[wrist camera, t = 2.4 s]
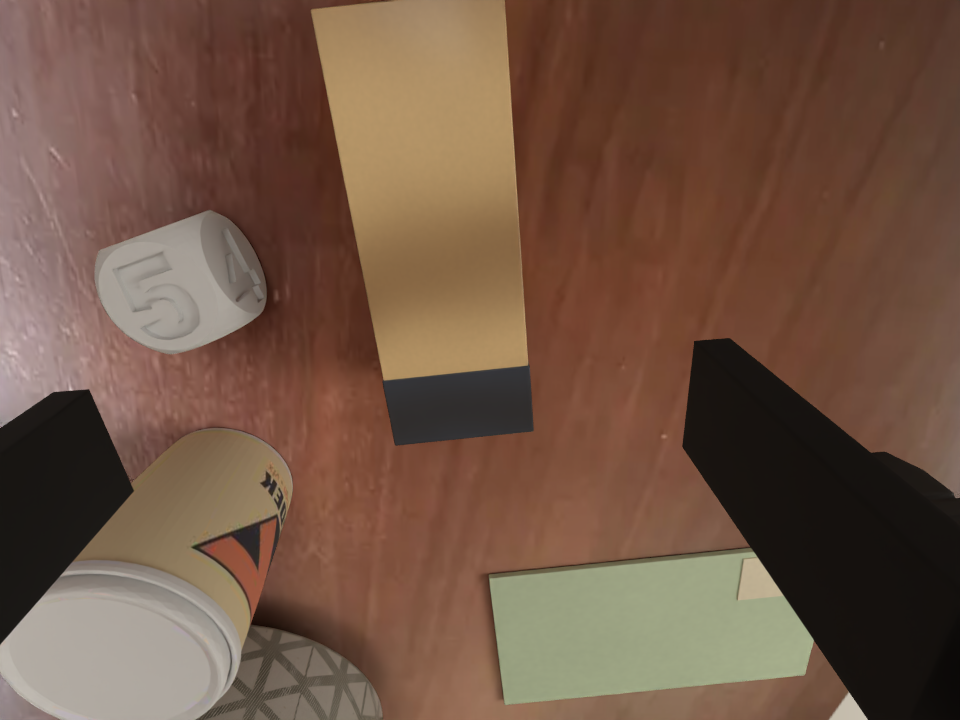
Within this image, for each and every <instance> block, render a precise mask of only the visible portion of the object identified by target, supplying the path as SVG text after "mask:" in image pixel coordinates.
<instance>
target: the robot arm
mask: <svg viewBox="0 0 960 720" xmlns="http://www.w3.org/2000/svg"><path fill="white" fill-rule="evenodd" d="M682 447H683V449H684V450H685V451H686V453H687V454H688V456H689V457H690V459H691V460H692V462H693V463H694V465H695V466H696V468H697V469H698V471H699V472H700V473H701V475H702V476H703V478H704V479H705V481H706V482H707V484H708V485H709V487H710V488H711V490H712V491H713V493H714V494H715V496H716V497H717V498H718V500H719V501H720V503H721V504H722V506H723V507H724V509H725V510H726V512H727V513H728V515H729V516H730V518H731V519H732V521H733V522H734V523H735V525H736V526H737V528H738V529H739V531H740V532H741V534H742V535H743V537H744V538H745V540H746V541H747V543H748V544H749V545H750V547H751V548H752V550H753V551H754V553H755V554H756V556H757V557H758V559H759V560H760V562H761V563H762V565H763V566H764V568H765V569H766V570H767V572H768V573H769V575H770V576H771V578H772V579H773V581H774V582H775V584H776V585H777V587H778V588H779V590H780V591H781V593H782V594H783V595H784V597H785V598H786V600H787V601H788V603H789V604H790V606H791V607H792V609H793V610H794V612H795V613H796V615H797V616H798V617H799V619H800V620H801V622H802V623H803V625H804V626H805V628H806V629H807V631H808V632H809V634H810V635H811V637H812V638H813V640H814V641H815V642H816V644H817V645H818V647H819V648H820V650H821V651H822V653H823V654H824V656H825V657H826V659H827V660H828V662H829V663H830V665H831V666H832V667H833V669H834V670H835V672H836V673H837V675H838V676H839V678H840V679H841V681H842V682H843V684H844V685H845V687H846V688H847V689H848V691H849V692H850V694H851V695H852V697H853V698H854V700H855V701H856V703H857V704H858V705H859V707H860V709H861V710H862V712H863V713H864V714H865V716H866V717H867V719H868V720H960V498H955V497H954V493H953V492H951V491H950V490H949V489H947V488H946V487H945V486H944V485H942V484H941V483H940V482H938V481H937V480H936V479H934V478H933V477H932V476H930V475H929V474H928V473H926V472H925V471H924V470H922V469H920V468H918V467H916V466H914V465H912V464H910V463H907V462H905V461H903V460H901V459H899V458H897V457H895V456H893V455H891V454H889V453H887V452H876V453H870V452H869V451H868V450H867V449H865V448H864V447H863V446H862V445H861V444H859V443H858V442H857V441H856V440H854V439H853V438H852V437H851V436H849V435H848V434H847V433H846V432H845V431H843V430H842V429H841V428H840V427H838V426H837V425H836V424H835V423H833V422H832V421H831V420H830V419H829V418H827V417H826V416H825V415H824V414H822V413H821V412H820V411H819V410H817V409H816V408H815V407H814V406H813V405H811V404H810V403H809V402H808V401H806V400H805V399H804V398H803V397H801V396H800V395H799V394H798V393H796V392H795V391H794V390H793V389H792V388H790V387H789V386H788V385H787V384H785V383H784V382H783V381H782V380H780V379H779V378H778V377H777V376H776V375H774V374H773V373H772V372H771V371H769V370H768V369H767V368H766V367H764V366H763V365H762V364H761V363H760V362H758V361H757V360H756V359H755V358H753V357H752V356H751V355H750V354H748V353H747V352H746V351H745V350H744V349H742V348H741V347H740V346H739V345H737V344H736V343H735V342H734V341H732V340H731V339H730V338H726V339H713V340H701V341H694V349H693V358H692V367H691V376H690V384H689V393H688V402H687V411H686V419H685V428H684V437H683V446H682ZM133 492H134V490H133V487H132V485H131V483H130V481H129V478H128V476H127V474H126V472H125V469H124V467H123V465H122V463H121V460H120V458H119V456H118V454H117V451H116V449H115V447H114V445H113V442H112V440H111V438H110V436H109V433H108V431H107V429H106V427H105V424H104V422H103V420H102V418H101V415H100V413H99V411H98V409H97V406H96V404H95V402H94V400H93V397H92V395H91V393H90V391H89V389H88V390H76V391H63V392H53V393H52V394H50V395H49V396H47V397H46V398H44V399H43V400H41V401H40V402H38V403H37V404H35V405H34V406H32V407H31V408H30V409H28V410H27V411H25V412H24V413H22V414H21V415H19V416H18V417H16V418H15V419H13V420H12V421H10V422H9V423H7V424H6V425H4V426H3V427H1V428H0V645H1V643H2V642H3V641H4V640H5V639H6V638H7V637H8V635H9V634H10V633H11V632H12V631H13V630H14V629H15V627H16V626H17V625H18V624H19V623H20V622H21V620H22V619H23V618H24V617H25V616H26V615H27V614H28V612H29V611H30V610H31V609H32V608H33V607H34V606H35V604H36V603H37V602H38V601H39V600H40V599H41V598H42V596H43V595H44V594H45V593H46V592H47V591H48V589H49V588H50V587H51V586H52V585H53V584H54V583H55V581H56V580H57V579H58V578H59V577H60V576H61V575H62V573H63V572H64V571H65V570H66V569H67V568H68V567H69V565H70V564H71V563H72V562H73V561H74V560H75V558H76V557H77V556H78V555H79V554H80V553H81V552H82V550H83V549H84V548H85V547H86V546H87V545H88V544H89V542H90V541H91V540H92V539H93V538H94V537H95V536H96V534H97V533H98V532H99V531H100V530H101V529H102V527H103V526H104V525H105V524H106V523H107V522H108V521H109V519H110V518H111V517H112V516H113V515H114V514H115V513H116V511H117V510H118V509H119V508H120V507H121V506H122V505H123V503H124V502H125V501H126V500H127V499H128V498H129V496H130V495H131V494H132V493H133Z"/></svg>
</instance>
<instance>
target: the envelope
mask: <svg viewBox="0 0 960 720" xmlns="http://www.w3.org/2000/svg"><path fill="white" fill-rule="evenodd" d="M489 584H490V592H491V600H492V608H493V616H494V624H495V632H496V640H497V648H498V656H499V664H500V672H501V680H502V688H503V697H504V704H505V705H510V704H520V703H530V702H540V701H550V700H560V699H570V698H580V697H590V696H600V695H610V694H620V693H630V692H640V691H650V690H660V689H670V688H680V687H691V686H701V685H711V684H721V683H731V682H741V681H751V680H761V679H771V678H781V677H791V676H801V675H805V672H806V668H807V664H808V660H809V656H810V653H811V649H812V645H813V641H814V640H813V638H812V637H811V635H810V634H809V632H808V631H807V629H806V628H805V626H804V625H803V623H802V622H801V620H800V619H799V617H798V616H797V615H796V613H795V612H794V610H793V609H792V607H791V606H790V604H789V603H788V601H787V600H786V598H785V597H784V595H783V594H782V593H781V591H780V590H779V588H778V587H777V585H776V584H775V582H774V581H773V579H772V578H771V576H770V575H769V573H768V572H767V570H766V569H765V568H764V566H763V565H762V563H761V562H760V560H759V559H758V557H757V556H756V554H755V553H754V551H753V550H752V548H744V549H734V550H724V551H714V552H704V553H695V554H685V555H675V556H665V557H655V558H645V559H635V560H626V561H616V562H606V563H596V564H586V565H576V566H566V567H557V568H547V569H537V570H527V571H517V572H507V573H497V574H489Z"/></svg>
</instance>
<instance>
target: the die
mask: <svg viewBox="0 0 960 720" xmlns="http://www.w3.org/2000/svg"><path fill="white" fill-rule="evenodd" d="M95 285H96V289H97V293H98V296H99V299H100V301H101V303H102V305H103V307H104V309H105V311H106V312H107V314H108V316H109V317H110V318H111V320H112V321H113V322H114V323H115V325H116V326H117V327H118V328H119V329H120V330H121V331H122V332H123V333H125V334H126V335H127V336H128V337H130V338H131V339H133V340H134V341H136V342H138V343H140V344H141V345H143V346H146V347H148V348H150V349H153V350H155V351H158V352H162V353H166V354H176V353H181V352H185V351H188V350H191V349H194V348H197V347H200V346H203V345H205V344H208V343H210V342H212V341H215V340H217V339H219V338H221V337H224V336H226V335H228V334H230V333H232V332H234V331H235V330H237V329H239V328H241V327H243V326H244V325H246V324H248V323H249V322H251V321H252V320H254V319H255V318H256V317H258V316H259V315H260V314H261V313H262V312H263V310H264V307H265V304H266V299H267V288H266V281H265V277H264V273H263V270H262V267H261V265H260V262H259V260H258V257H257V255H256V253H255V251H254V250H253V248H252V246H251V244H250V243H249V241H248V240H247V238H246V237H245V236H244V234H243V233H242V232H241V231H240V229H239V228H238V227H237V226H236V225H235V224H234V223H233V222H231V221H230V220H229V219H228V218H226V217H224V216H222V215H220V214H218V213H216V212H214V211H211V210H208V211H205V212H202V213H200V214H197V215H194V216H192V217H189V218H186V219H183V220H181V221H178V222H175V223H172V224H170V225H167V226H164V227H161V228H159V229H156V230H153V231H150V232H148V233H145V234H142V235H140V236H137V237H134V238H131V239H129V240H126V241H123V242H120V243H118V244H115V245H112V246H110V247H107V248H104V249H101V250H99V252H98V255H97V258H96V264H95Z"/></svg>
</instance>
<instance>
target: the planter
mask: <svg viewBox="0 0 960 720" xmlns="http://www.w3.org/2000/svg"><path fill="white" fill-rule="evenodd" d="M195 720H383V714H382V707H381V703H380V699H379V697H378V695H377V692H376V691H375V689H374V687H373V686H372V684H371V683H370V681H369V680H368V679H367V677H366V676H365V675H364V674H363V673H362V672H361V671H360V670H359V669H358V668H357V667H356V666H355V665H354V664H352V663H351V662H350V661H349V660H347V659H346V658H344V657H343V656H342V655H340V654H339V653H337V652H335V651H334V650H332V649H330V648H328V647H326V646H324V645H322V644H320V643H318V642H316V641H314V640H311V639H308V638H306V637H303V636H300V635H297V634H294V633H291V632H287V631H283V630H279V629H275V628H270V627H264V626H257V625H250V627H249V630H248V633H247V636H246V639H245V642H244V645H243V648H242V651H241V660H240V665H239V668H238V672H237V674H236V677H235V679H234V681H233V683H232V684H231V686H230V688H229V689H228V690H227V692H226V693H225V694H224V695H223V696H222V697H221V698H220V699H219V700H217V702H216V703H215V704H214V705H213V706H212V707H211V708H210V709H209V710H208V711H207V712H206V713H205V714H203V715H202V716H200V717H199V718H197V719H195Z"/></svg>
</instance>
